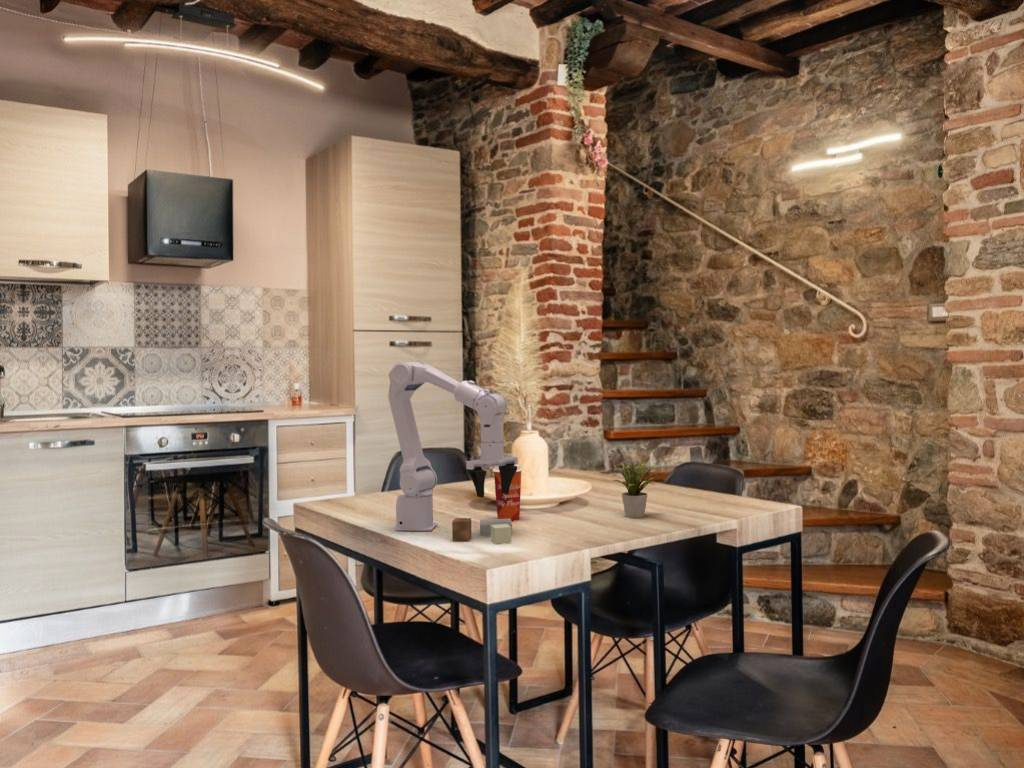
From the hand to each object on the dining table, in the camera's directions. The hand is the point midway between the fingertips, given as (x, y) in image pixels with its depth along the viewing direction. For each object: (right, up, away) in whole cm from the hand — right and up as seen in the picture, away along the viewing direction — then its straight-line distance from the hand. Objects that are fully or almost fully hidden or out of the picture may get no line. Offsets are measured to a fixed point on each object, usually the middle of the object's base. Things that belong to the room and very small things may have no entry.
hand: (493, 495), depth 208 cm
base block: (+1, -10, +3) cm, 11 cm away
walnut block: (-8, -10, -5) cm, 14 cm away
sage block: (+2, -10, -9) cm, 14 cm away
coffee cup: (+4, -9, +19) cm, 22 cm away
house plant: (+39, -9, +19) cm, 44 cm away
